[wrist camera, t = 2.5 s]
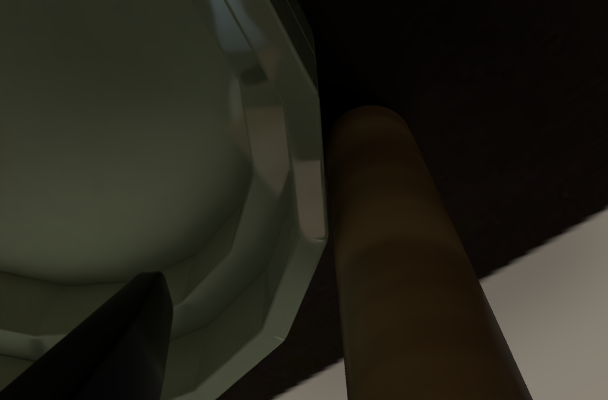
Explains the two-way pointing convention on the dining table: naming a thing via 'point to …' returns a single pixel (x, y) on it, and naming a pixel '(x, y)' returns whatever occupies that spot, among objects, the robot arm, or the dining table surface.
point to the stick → (406, 275)
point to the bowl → (159, 174)
